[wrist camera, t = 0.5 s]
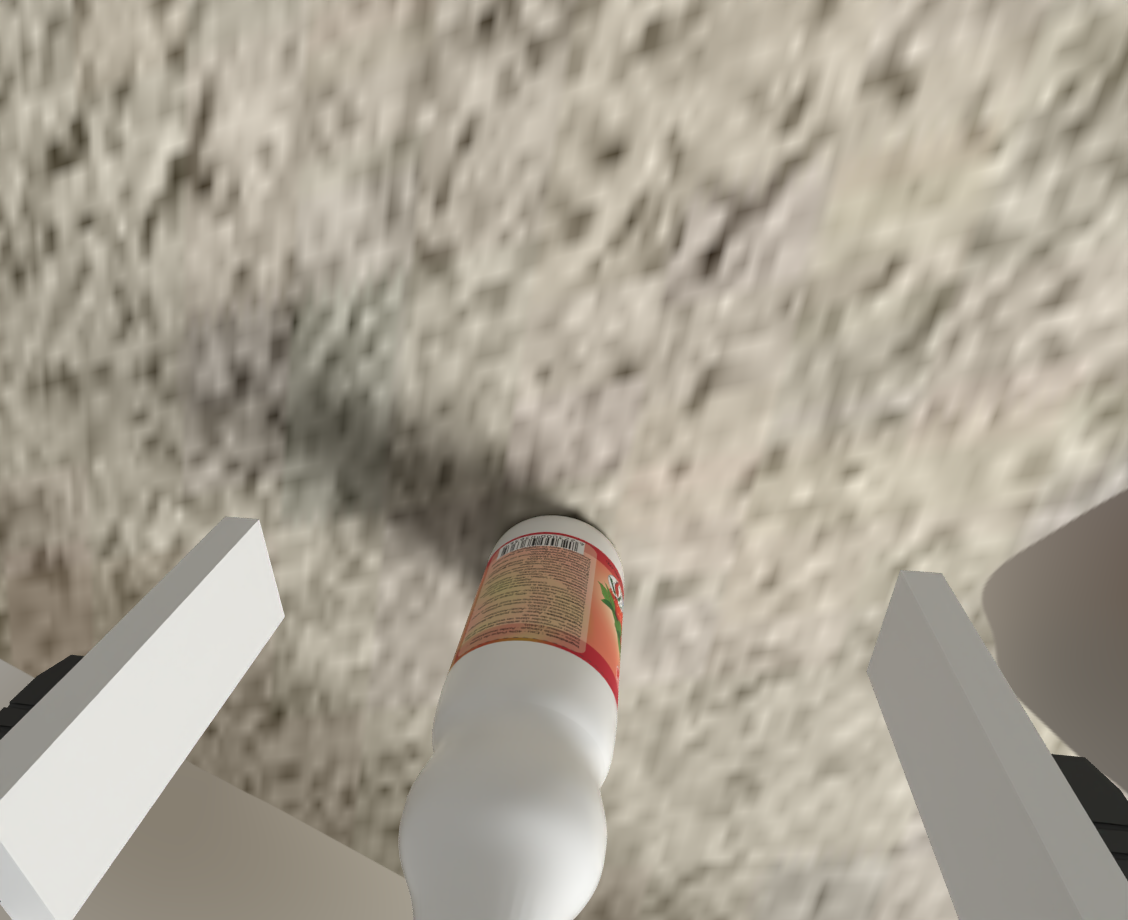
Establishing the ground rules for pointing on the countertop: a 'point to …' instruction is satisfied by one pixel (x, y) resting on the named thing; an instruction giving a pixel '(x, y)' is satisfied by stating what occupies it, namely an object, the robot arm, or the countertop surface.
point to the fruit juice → (522, 736)
